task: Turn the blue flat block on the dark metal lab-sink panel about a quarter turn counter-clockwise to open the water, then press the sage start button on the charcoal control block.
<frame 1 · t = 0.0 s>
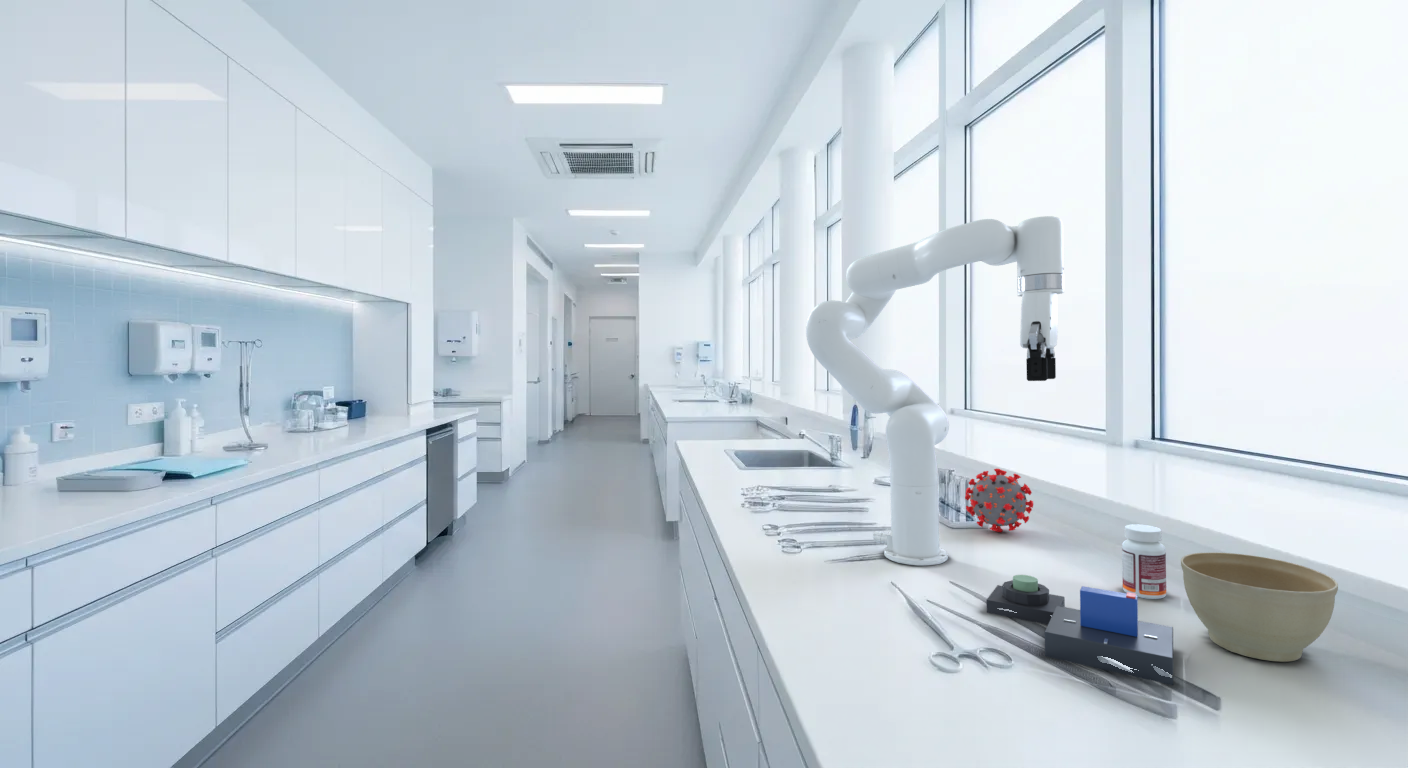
hand: (1041, 379, 115), 37 cm above the worktop, tool pointing down, fingers open, 9 cm apart
blue flat block: (1108, 609, 85), point 6 cm above the worktop, hinge at 0.0°
virus model: (998, 532, 147), on the worktop
planter bowl: (1254, 649, 86), on the worktop
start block: (1025, 611, 100), on the worktop
start button: (1025, 583, 100), point 5 cm above the worktop, slide at 0.2 cm
pill bottle: (1144, 594, 107), on the worktop
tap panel: (1109, 654, 85), on the worktop
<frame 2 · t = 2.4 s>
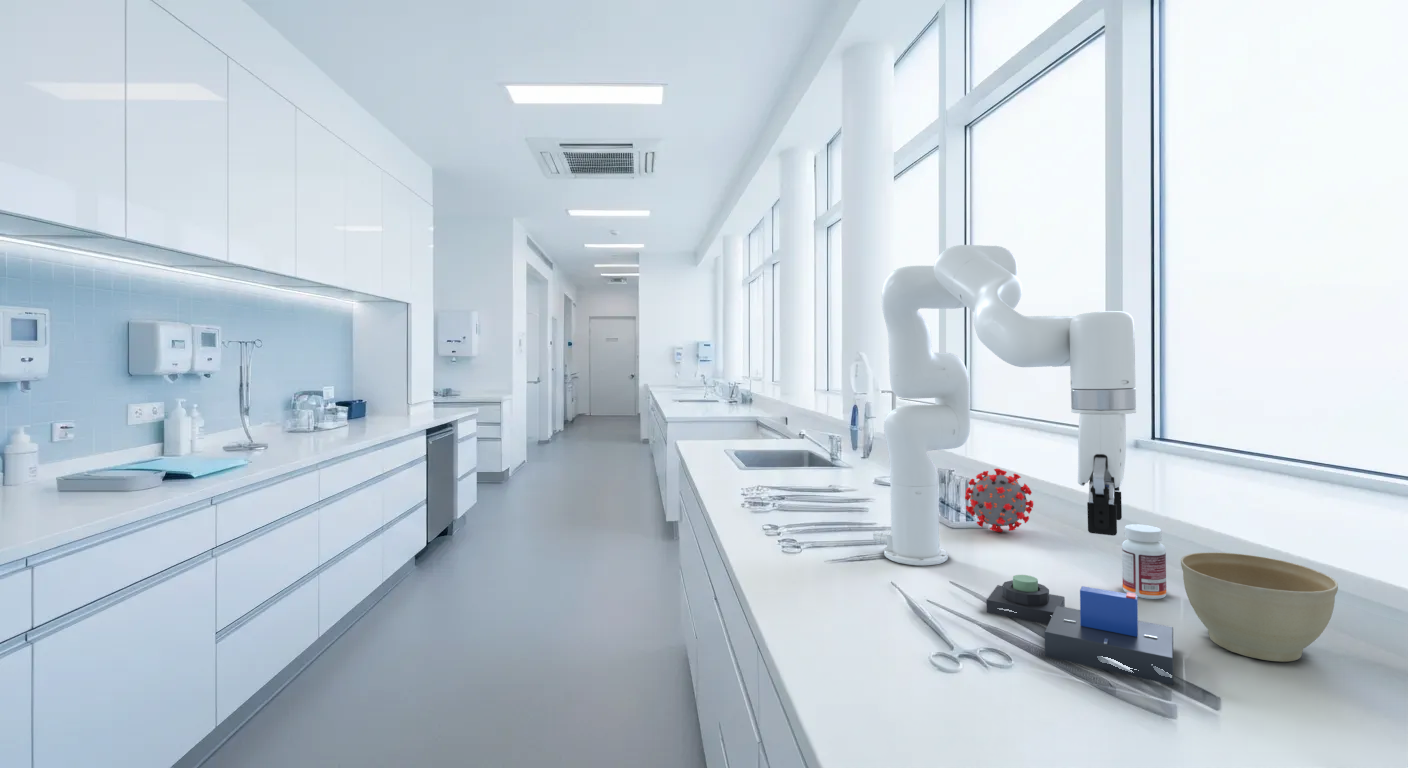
hand: (1105, 525, 86), 17 cm above the worktop, tool pointing down, fingers open, 9 cm apart
nothing on the worktop moved.
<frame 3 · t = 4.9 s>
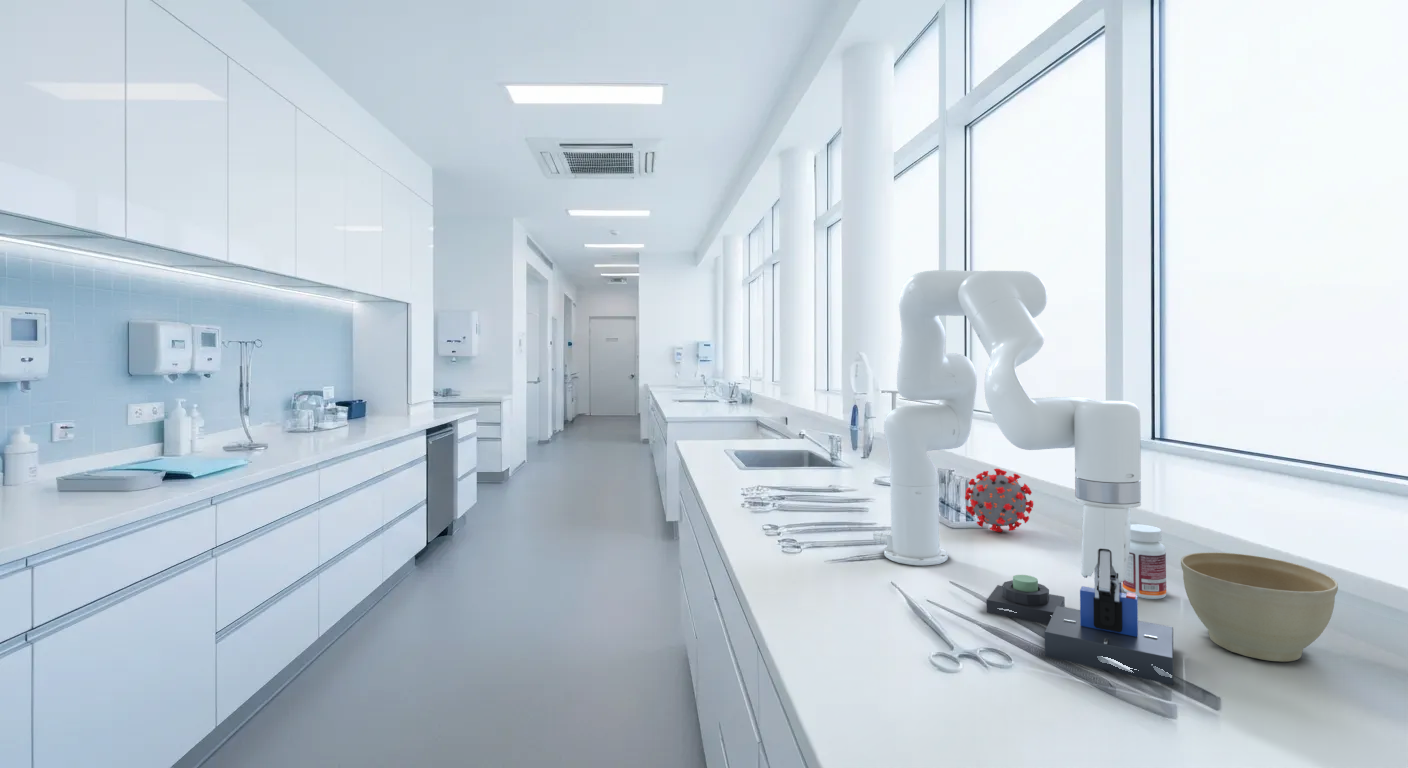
hand: (1108, 624, 85), 4 cm above the worktop, tool pointing down, fingers closed on blue flat block, 2 cm apart
blue flat block: (1108, 609, 85), point 6 cm above the worktop, hinge at 0.0°, touching gripper
everything else where it was.
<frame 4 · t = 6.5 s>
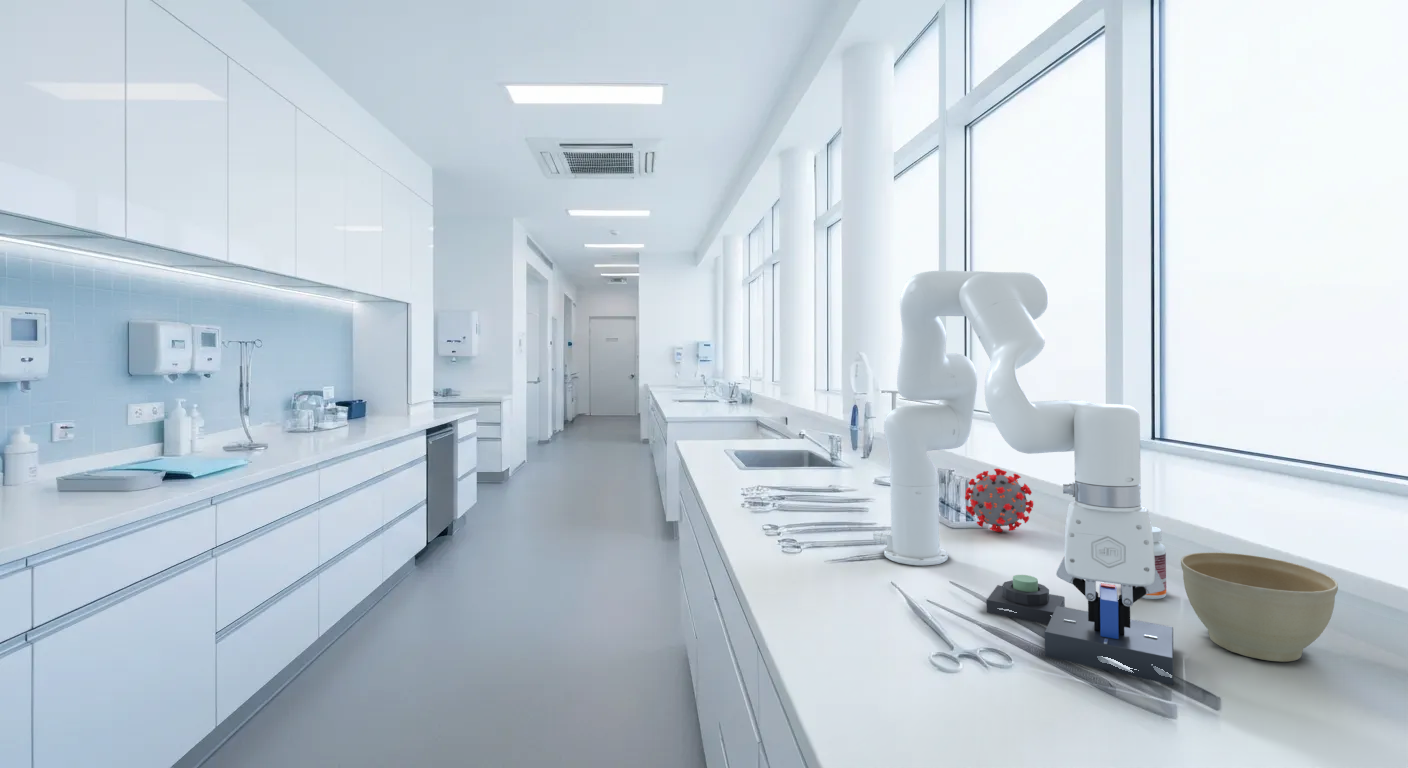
hand: (1109, 628, 85), 4 cm above the worktop, tool pointing down, fingers closed on blue flat block, 2 cm apart
blue flat block: (1108, 609, 85), point 6 cm above the worktop, hinge at 95.2°, touching gripper
everything else where it was.
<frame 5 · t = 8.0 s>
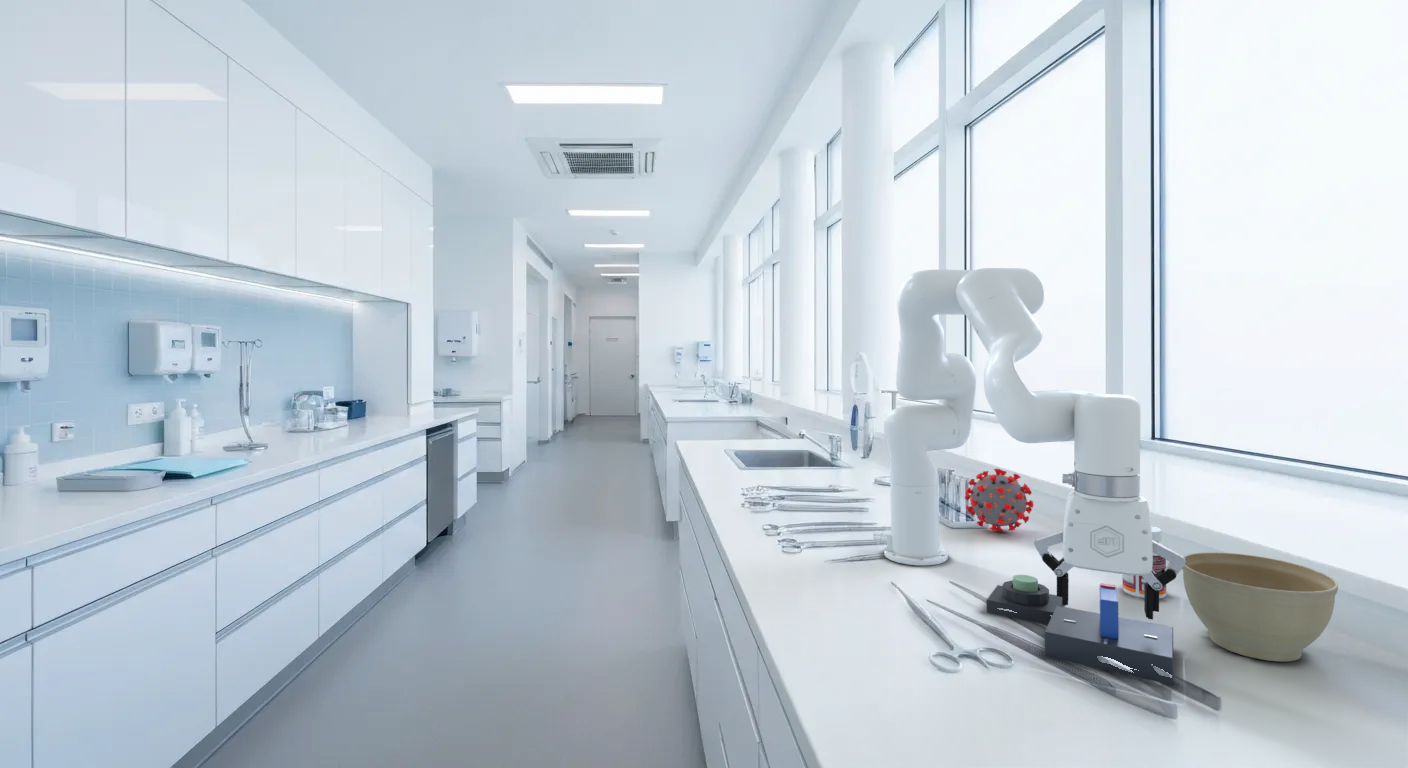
hand: (1105, 608, 86), 6 cm above the worktop, tool pointing down, fingers open, 9 cm apart
blue flat block: (1108, 609, 85), point 6 cm above the worktop, hinge at 95.4°
everything else where it was.
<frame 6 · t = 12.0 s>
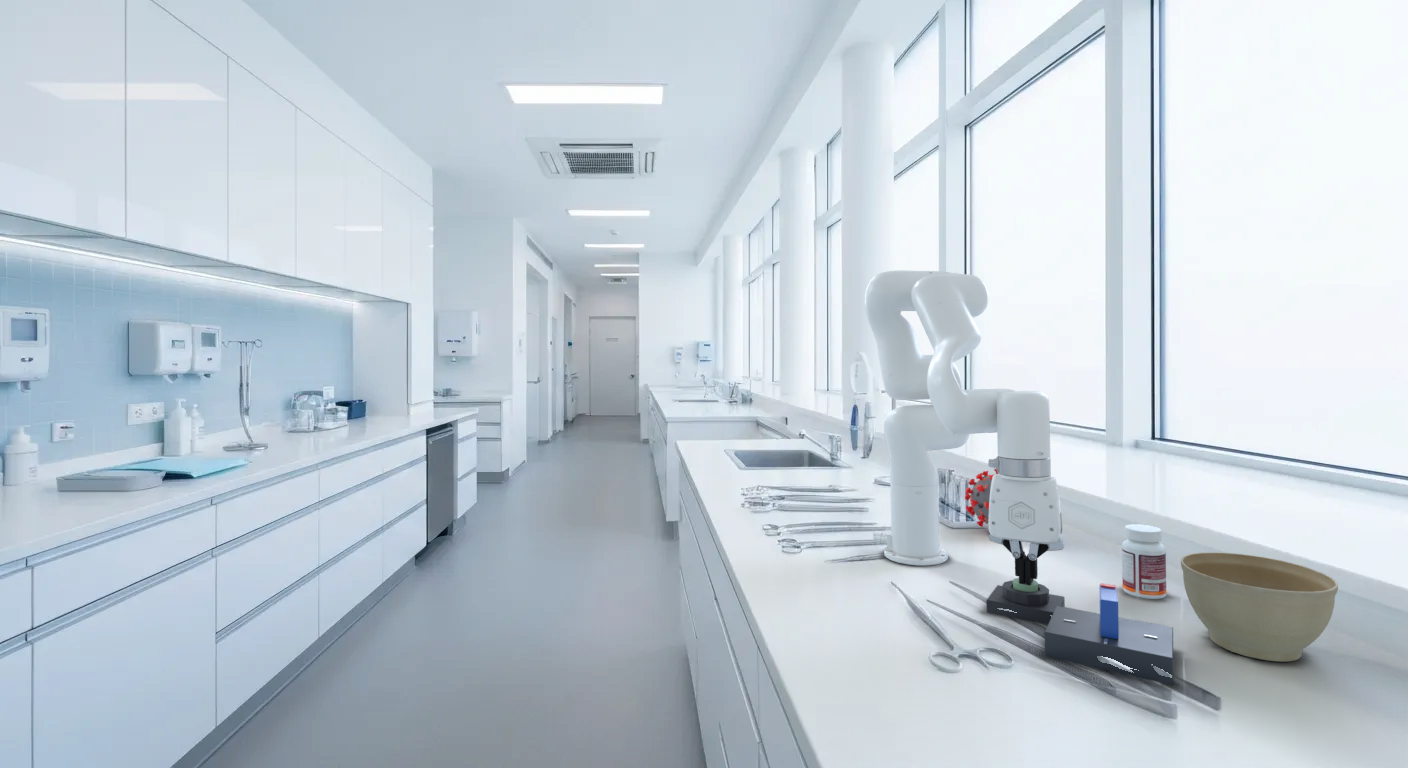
hand: (1026, 581, 100), 5 cm above the worktop, tool pointing down, fingers closed
start button: (1025, 586, 100), point 4 cm above the worktop, slide at -0.3 cm, touching gripper
everything else where it was.
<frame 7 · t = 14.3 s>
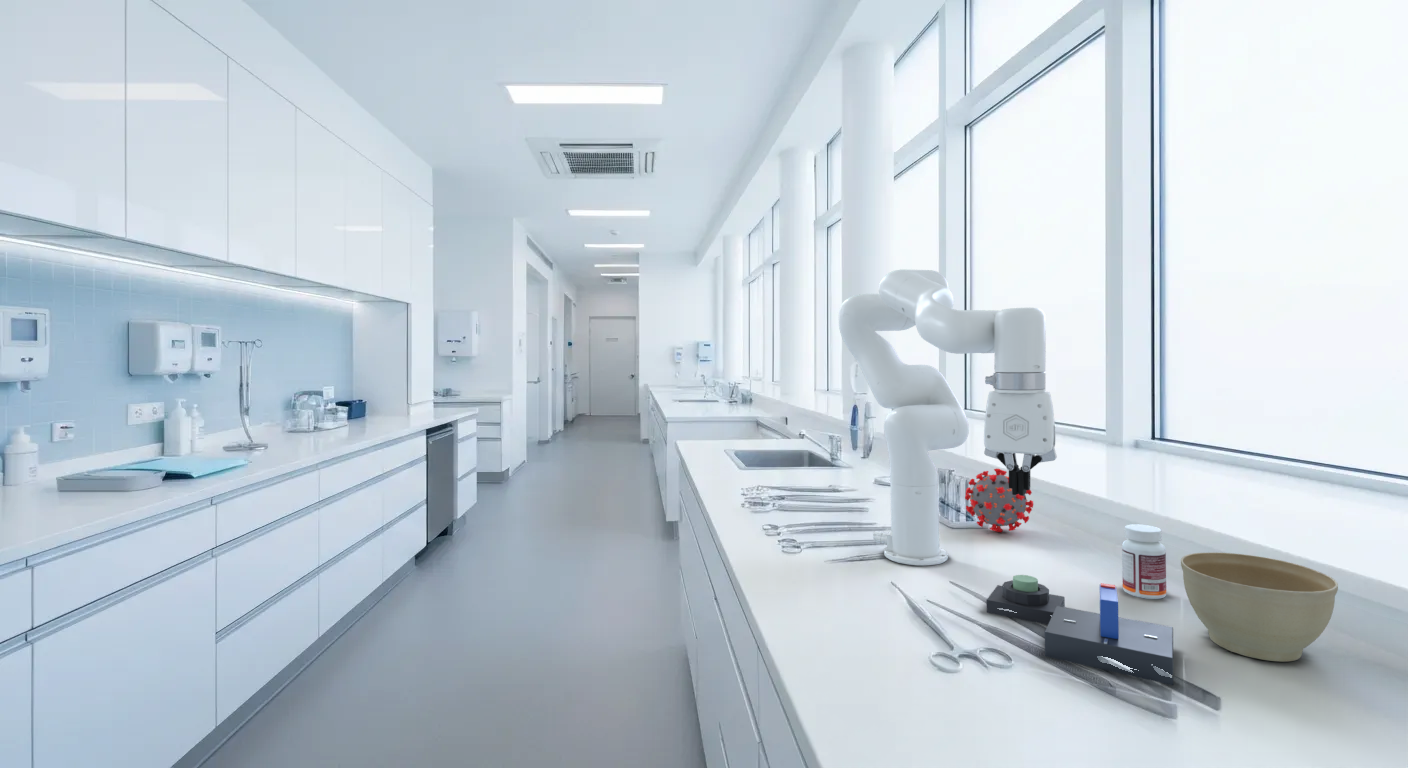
hand: (1019, 493, 103), 18 cm above the worktop, tool pointing down, fingers closed
start button: (1025, 583, 100), point 5 cm above the worktop, slide at 0.1 cm
everything else where it was.
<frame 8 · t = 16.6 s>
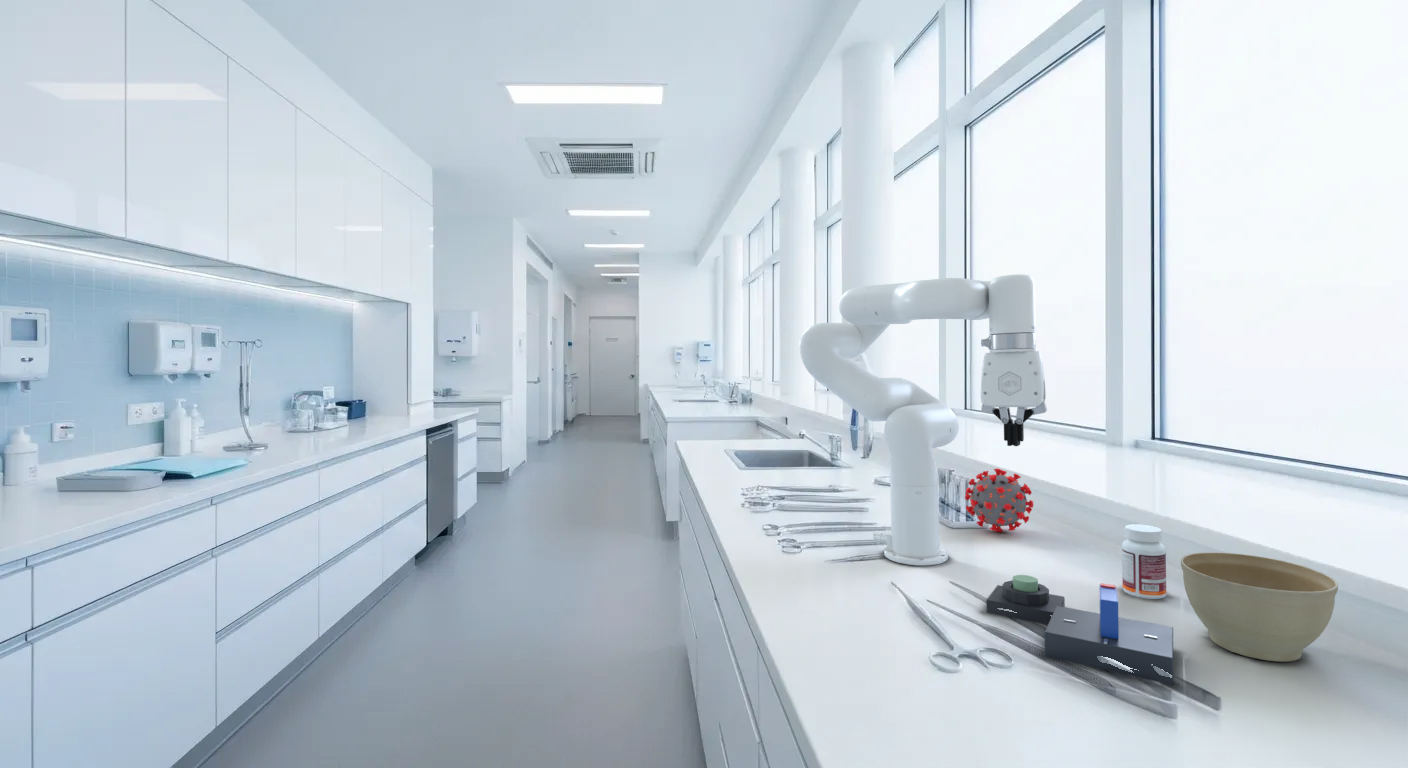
hand: (1013, 445, 113), 25 cm above the worktop, tool pointing down, fingers closed
nothing on the worktop moved.
at the end: blue flat block at +95° (first picture: +0°); start button pushed in 1.1 cm at the most during the clip and back out by the end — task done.
